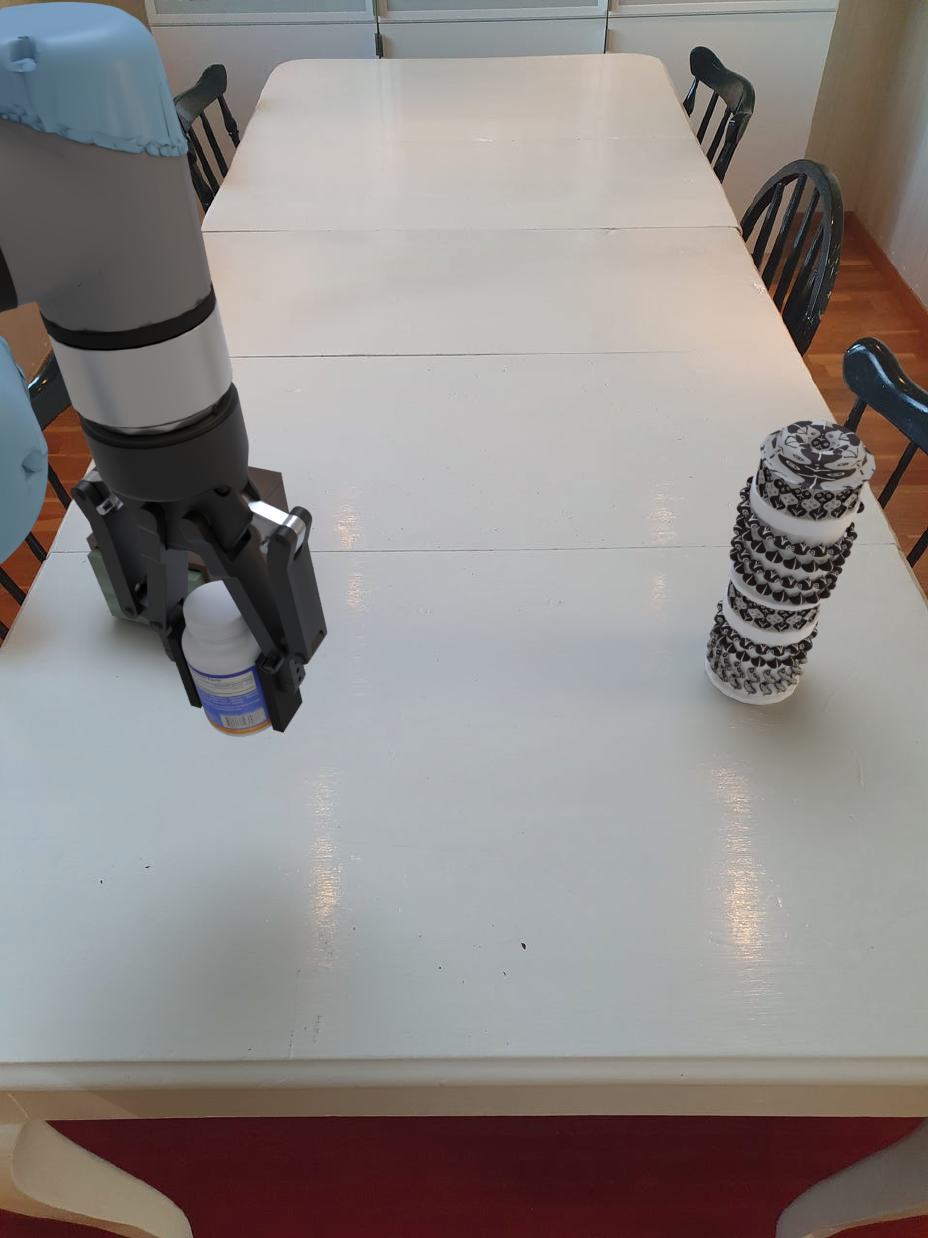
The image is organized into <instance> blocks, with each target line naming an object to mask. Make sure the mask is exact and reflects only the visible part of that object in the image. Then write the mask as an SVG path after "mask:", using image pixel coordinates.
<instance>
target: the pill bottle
mask: <svg viewBox="0 0 928 1238" xmlns="http://www.w3.org/2000/svg"><path fill="white" fill-rule="evenodd" d="M183 614H184V618H185V622H186V627H185V629H184V632H183V636H182V648H183V652H184V655H185V658H186V661H187V664H188V666H189V669H190V672H191V675H192V677H193V680H194V683H195V686H196V689H197V692H198V694H199V697H200V700H201V703H202V709H203V711H204V715H205V716H206V718H207V720H208V722H209V724H210V725H211V726H212V727H213V729H215V730H216V731H217V732H219V733H221V734H223V735H226V736H229V737H236V738H244V737H249V736H250V737H251V736H254V735H258V734H260V733H262V732H264V731H266V730H268V729H270V728H271V727H272V724H271V721H270V717H269V713H268V709H267V706H266V702H265V698H264V694H263V691H262V687H261V683H260V679H259V676H258V672H257V668H256V665H255V661H256V660H257V658H258V657H259V655H260V654H261V652H262V650H261V648H260V647H259V645H258V643H257V641H256V640H255V638H254V636H253V634H252V633H251V631H250V629H249V627H248V625H247V624H246V622H245V620H244V618H243V617H242V615H241V613H240V611H239V610H238V608H237V606H236V604H235V602H234V601H233V599H232V597H231V595H230V594H229V592H228V590H227V588H226V587H225V585H224V583H223V581H215V582H210V583H207V584H204V585H202V586H200V587H198V588H196V589H195V590H194V591H192V592H191V593H190V594H189V595H188V597H187V598H186V600H185V602H184V605H183Z"/></svg>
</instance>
